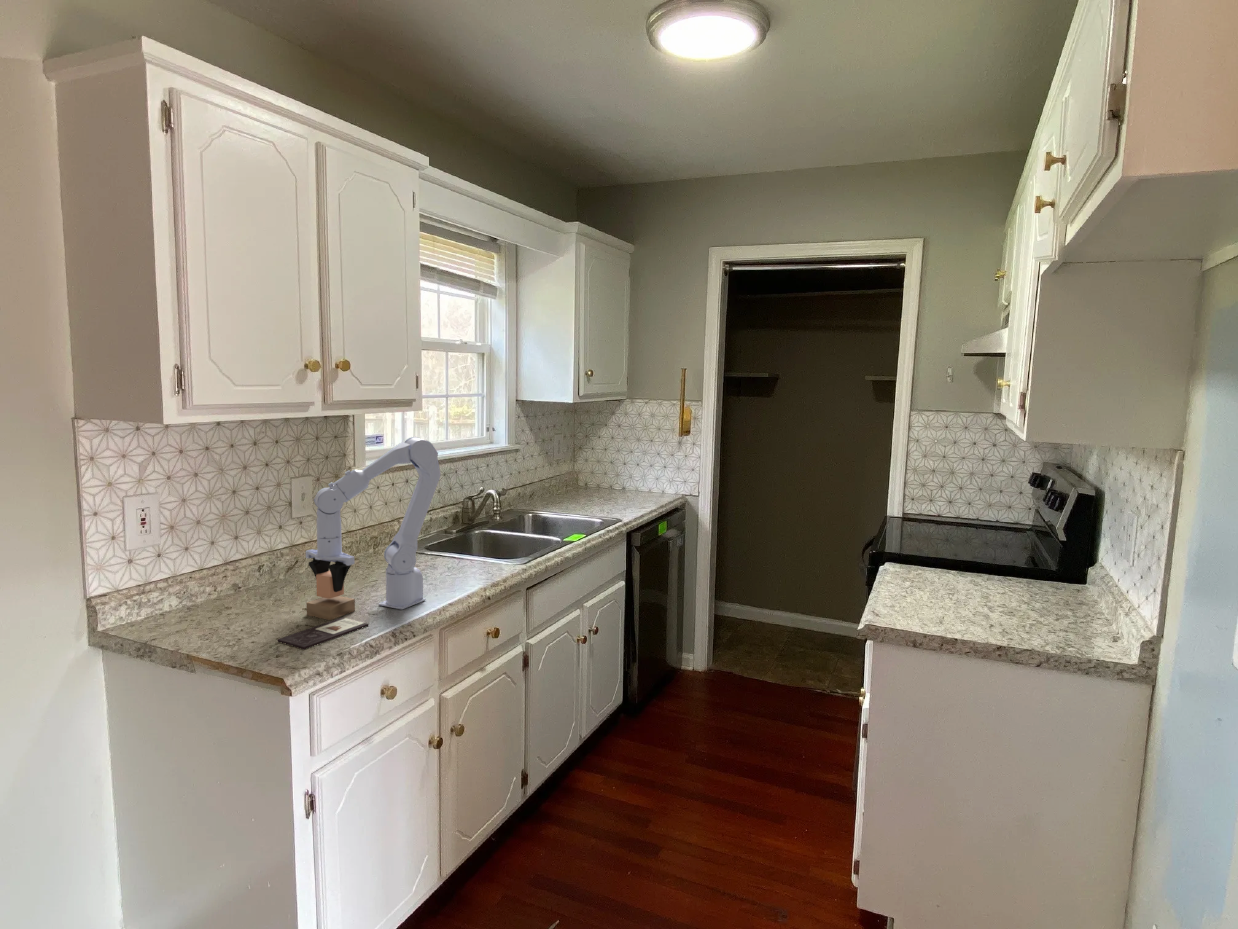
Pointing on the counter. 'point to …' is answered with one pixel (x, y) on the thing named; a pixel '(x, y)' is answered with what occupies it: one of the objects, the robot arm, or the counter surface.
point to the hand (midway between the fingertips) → (330, 589)
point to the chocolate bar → (322, 633)
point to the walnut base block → (330, 607)
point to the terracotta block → (326, 586)
